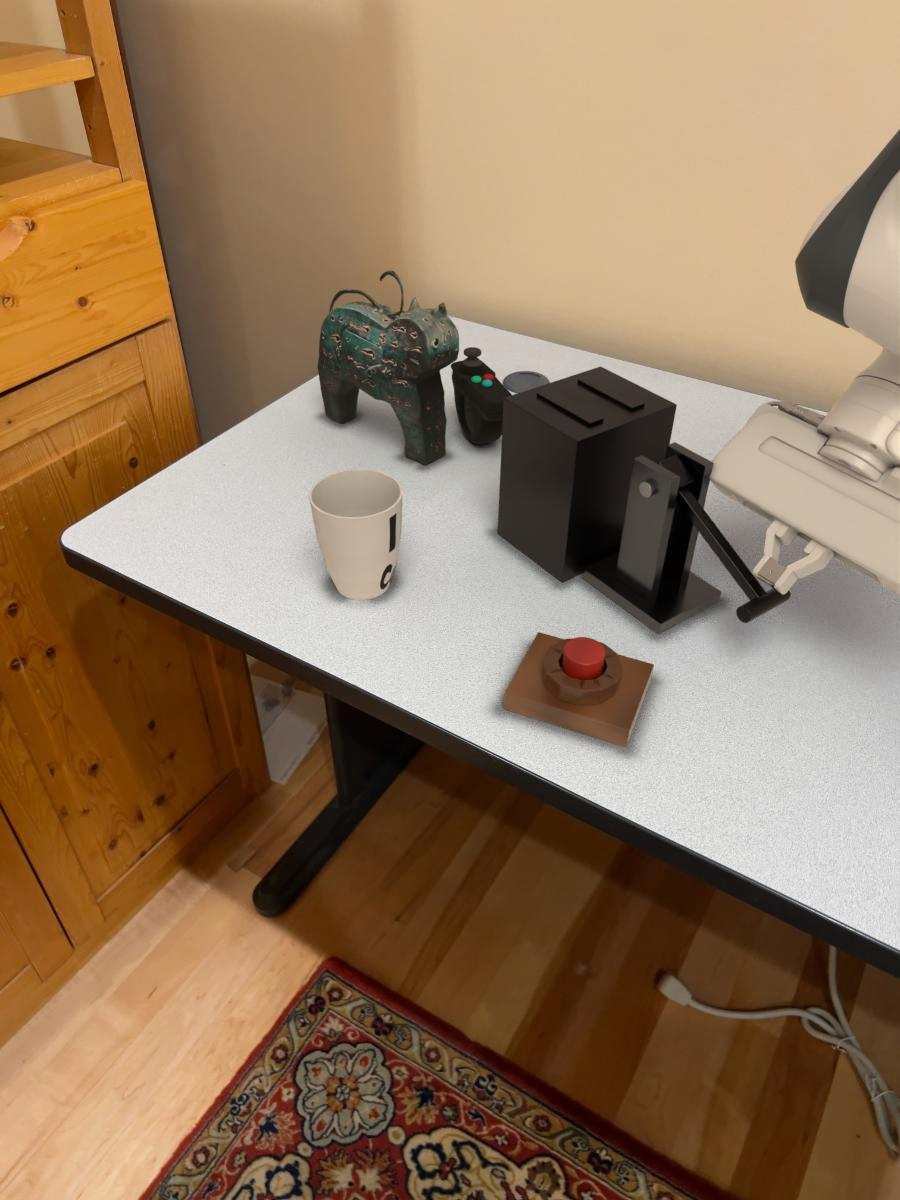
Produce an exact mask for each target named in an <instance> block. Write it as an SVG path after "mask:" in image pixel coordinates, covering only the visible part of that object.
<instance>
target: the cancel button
mask: <svg viewBox="0 0 900 1200" xmlns="http://www.w3.org/2000/svg"><path fill="white" fill-rule="evenodd" d="M570 639H571V640H569V641H568V642H567V643H566V644H565V646H564V653H563V661H562V667H563V670H564V671H565V673H566V674H567V675H569V676H570V677H572V678H575V679H579V680H592V679H595V678H597V677H598V676H599V675H600V674H601V673H602V671H603V665H604V659H605V649H604V647H603V646H602V644H601V643H599V642H600V641H599V640H597V639H594V638H591V637H588V636H587V637H586V636H578V637H573V639H572V638H570Z"/></svg>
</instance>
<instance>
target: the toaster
mask: <svg viewBox="0 0 900 1200" xmlns="http://www.w3.org/2000/svg"><path fill="white" fill-rule="evenodd" d="M677 407H678V405H677V403H675V402H673V401H671V400H669V399H667V398H665V397H663V396H661V395H659V394H657V393H655V392H653V391H650V390H649V389H647V388H645V387H643V386H641V385H639V384H637V383H635V382H633V381H631V380H629V379H627V378H625V377H624V376H621V375H619V374H617V373H615V372H613V371H611V370H608V369H607V368H605V367H603V366H598V367H594V368H592V369H588V370H585V371H582V372H579V373H576V374H573V375H570V376H566V377H564V378H560V379H557V380H555V381H551V382H548V383H545V384H542V385H539V386H536V387H533V388H530V389H526V390H523V391H521V392H518V393H515V394H512V395H511V396H508V397H505V398H504V405H503V426H502V436H501V447H500V449H501V451H500V452H501V453H500V468H499V469H500V470H499V471H500V473H499V489H498V490H499V491H498V492H499V493H498V494H499V495H498V513H497V514H498V515H497V532H496V533H497V535H498V536H500V537H501V538H503V539H504V540H505V541H506V542H508V543H509V544H510V545H512V546H513V547H514V548H516V549H517V550H518V551H519V552H521V553H522V554H523V555H525V556H526V557H528V559H530V560H531V561H533V562H534V563H535V564H536V565H538V566H539V567H541V568H542V569H543V570H545V571H546V572H547V573H548V574H550V575H551V576H552V577H553V578H555V579H556V580H557V581H558V582H560V583H561V584H562V583H566V582H568V581H570V580H572V579H573V578H576V577H578V576H580V575H582V574H583V569H584V568H585V567H588V566H590V565H592V564H594V563H596V562H598V561H601V560H603V559H605V558H607V557H609V556H611V555H614V554H616V553H618V552H619V551H620V545H621V538H622V532H623V525H624V519H625V512H626V506H627V499H628V493H629V486H630V480H631V473H632V467H633V460H634V458H636V457H639V456H641V455H643V456H644V457H646V458H648V459H650V460H651V461H653V462H655V463H658V462H660V461H663V460H665V455H666V450H667V445H669V444H671V441H672V440H671V439H672V434H673V428H674V422H675V417H676V411H677Z"/></svg>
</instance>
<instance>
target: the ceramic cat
mask: <svg viewBox="0 0 900 1200" xmlns="http://www.w3.org/2000/svg"><path fill="white" fill-rule="evenodd" d="M386 276H391V277H393V278H394V279H395V280H396V282H397V284H398V286H399V288H400V294H401V295H400V296H401V297H400V298H401V300H400V308H399V311H396V310H394V309H392V308H390V307H389V306H387V305H385V304H382V303H378V302H377V301H376V300H375V299H374V298H373V297H372V296H371V295H369V294H367V293H366V292H365V291H364V290H360V289H355V288H345V289H342V290H338V291H337V293H335V295H334V296H333V297H332V300H331V302H330V306H329V309H328V314H327V315H326V317H325V318H324V320H323V322H322V324H321V326H320V332H319V340H318V341H319V342H318V361H317V373H318V381H319V385H320V394H321V399H322V401H323V408H324V411H325V416H326V417H327V418H329V420H332V422H335V423H338V424H342V425H343V424H345V423H346V422H349V421H352V420H354V419H355V418H356V417H357V410H358V409H357V408H358V401H359V400H358V399H359V394H360V391H362V392H363V393H364V394H367V395H368V396H369V397H371V398H373V399H374V400H377V401H383V402H385V403H388V404H389V405H390V407H391V408H392V410H393V412H394V413H395V416H396V417H397V420H398V422H399V424H400V426H401V428H402V433H403V438H404V455H405V458H408V459H410V460H414V461H416V462H418V463H419V464H421V465H423V466H426V465H430V464H432V463H434V462H435V461H438V460H439V459H441V458H442V457H444V456H446V431H447V423H448V420H447V413H446V410H445V409H446V408H445V407H446V406H445V405H446V404H445V403H446V402H445V389H444V385H443V382H442V381H443V380H442V375H441V370H443V369H445V368H446V367H448V366H451V364H452V363H454V362H457V360H458V357H459V353H460V334H459V331H458V328H457V326H456V325H455V324H454V321H452V319H451V318H450V316H449V315H448V310H447V307H446V305H445V302H441V303H439V304H438V305H437V306H436V307H435V308H431V307H428V308H427V307H426V308H422V307H420V305H419V302H418V301H417V298H416V296H414V297H413V298H412V300H411V301H410V303H409V308H408V310H407V311H405V310H404V304H405V303H404V300H405V299H404V287H403V283H402V280H401V278H400V277H399V275H398V274H397V272H395V271H394V270H391V269H390V270H385V271H384V272H383V273H382V274H381V275H380V277H379V281H380V282H382V281H383V279H385V278H386ZM345 294H358V295H360V296H362V297H364V298H365V299H367V300H368V301H369V302H366V301H360V300H359V301H358V300H357V301H351V302H348V303H346V304H343V305H341V306H338V307H337V306H336V307H335V308H334V305H335V303H336V302H337V301H338V300H339V298H340V297H341V296H343V295H345Z"/></svg>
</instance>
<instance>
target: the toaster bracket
mask: <svg viewBox="0 0 900 1200" xmlns="http://www.w3.org/2000/svg"><path fill="white" fill-rule="evenodd" d="M675 455H677V456H678V458H679V459H680V460H681V462H682V463H683V464H684V466H685V467H686V468H687V470H688V471H689V472H690V473H691V475H692V476H693V477H694V479H695V481H694V482H693V483H692V484H691V486H690V487H689V488H688V489H689V490H690V492H691V493H692V494H693V496H694V497H695V498H696V500H697V501H698V502H699V504H700V505H701V506H702V508H703V509H704V510H705V505H706V500H707V497H708V492H709V486H710V482H711V481H710V479H709V477H710V475H711V473H712V469H713V464H714V463H713V462H712V460H710V459H707V458H705V457H704V456H702V455H700V454H698V453H696V452H694V451H693V450H691V449H689V448H687V447H685V446H683V445H681V444H680V443H678V442H676V441H674V442H672V443H670V444H669V445H667V450H666V455H665V459H667V458H670V457H672V456H675ZM679 483H680V476H678V475H676V474H674V473H673V472H671V471H669V470H667V469H665V468H664V467H662V466H660V465H658V464H657V463H655V462H653V461H651V460H650V459H648V458H646V457H644V456H643V455H641V456H639V457H636V458H634V460H633V467H632V473H631V480H630V486H629V493H628V499H627V506H626V512H625V519H624V525H623V532H622V538H621V545H620V551H619V552H618V553H616V554H614V555H611V556H609V557H607V558H605V559H603V560H601V561H598V562H596V563H594V564H592V565H590V566H588V567H585V568H584V569H583V573H582V574H581V579H582V580H584V582H586V583H588V584H589V585H591V586H592V587H593V588H595V589H596V590H597V591H599V592H600V593H601V594H603V595H604V596H605V597H606V598H608V599H610V600H611V601H612V602H614V603H615V604H616V605H618V606H619V607H620V608H622V609H623V610H624V611H626V612H627V613H629V614H630V615H631V616H633V617H634V618H635V619H637V620H638V621H639V622H641V623H642V624H644V625H645V626H646V627H648V628H649V629H650V630H651V631H653V632H654V633H656V634H657V635H660V634H662V633H664V632H665V631H667V630H670V629H671V628H673V627H675V626H677V625H679V624H681V623H682V622H684V621H686V620H688V619H689V618H692V617H693V616H696V615H697V614H699V613H701V612H703V611H705V610H706V609H708V608H710V607H712V606H714V605H716V604H718V603H719V602H720V601H721V597H722V591H721V590H720V589H718V588H717V587H715V586H713V585H712V584H711V583H709V582H707V581H706V580H704V579H703V578H701V577H700V576H698V575H696V574H695V573H694V572H692V571H691V569H692V564H693V559H694V554H695V549H696V547H697V541H698V536H699V531H698V530H697V529H696V527H695V526H694V525H693V523H692V522H691V521H690V519H689V518H688V517H687V515H686V514H685V513H684V511H683V510H682V508H681V507H680V506H679V504H678V503H677V502H676V498H677V493H678V488H679Z"/></svg>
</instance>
